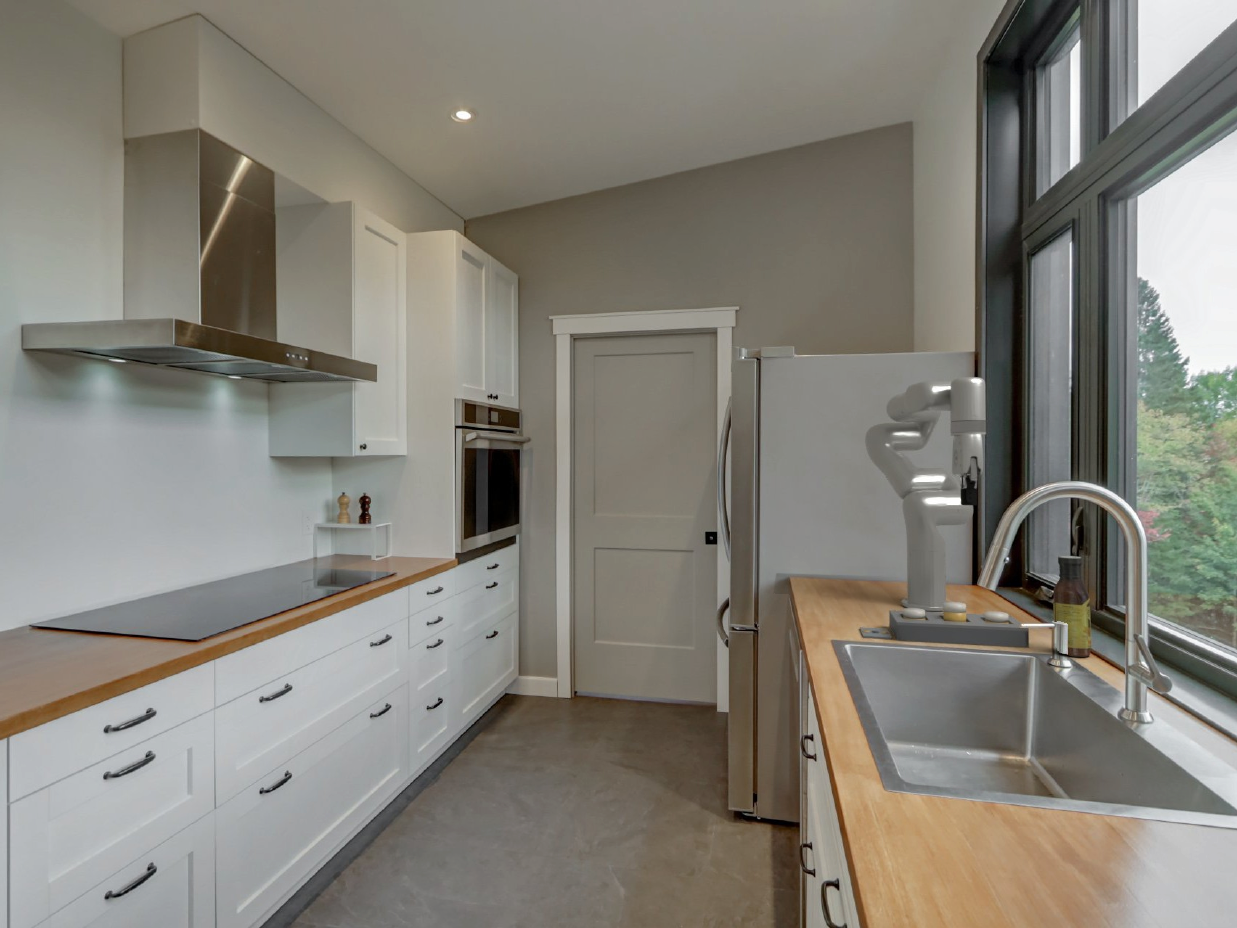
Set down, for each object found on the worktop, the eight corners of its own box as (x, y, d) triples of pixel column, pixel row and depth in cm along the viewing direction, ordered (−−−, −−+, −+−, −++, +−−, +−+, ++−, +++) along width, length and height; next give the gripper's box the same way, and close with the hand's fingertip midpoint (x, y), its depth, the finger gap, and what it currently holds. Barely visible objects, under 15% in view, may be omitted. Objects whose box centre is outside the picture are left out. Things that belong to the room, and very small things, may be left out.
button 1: (901, 630, 154) (901, 607, 154) (923, 631, 153) (922, 608, 153) (905, 635, 149) (904, 611, 149) (927, 636, 148) (926, 612, 148)
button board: (889, 627, 158) (889, 610, 158) (1010, 633, 151) (1010, 615, 151) (897, 640, 146) (897, 622, 146) (1028, 647, 140) (1028, 628, 140)
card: (859, 628, 157) (859, 626, 157) (886, 630, 155) (886, 627, 155) (863, 637, 149) (863, 635, 149) (891, 639, 148) (891, 636, 148)
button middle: (941, 624, 152) (941, 601, 152) (963, 625, 151) (963, 601, 151) (946, 629, 147) (945, 605, 147) (968, 631, 146) (968, 606, 146)
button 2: (982, 634, 150) (982, 610, 150) (1004, 635, 148) (1004, 611, 148) (988, 640, 145) (987, 615, 145) (1011, 641, 144) (1011, 616, 144)
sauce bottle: (1097, 658, 131) (1096, 559, 131) (1062, 657, 133) (1061, 558, 133) (1081, 649, 138) (1080, 554, 138) (1048, 648, 139) (1047, 554, 139)
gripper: (944, 430, 167) (944, 503, 167) (958, 428, 153) (959, 507, 153) (976, 430, 165) (977, 503, 165) (994, 427, 151) (995, 507, 151)
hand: (968, 504), depth 159 cm, fingers closed
